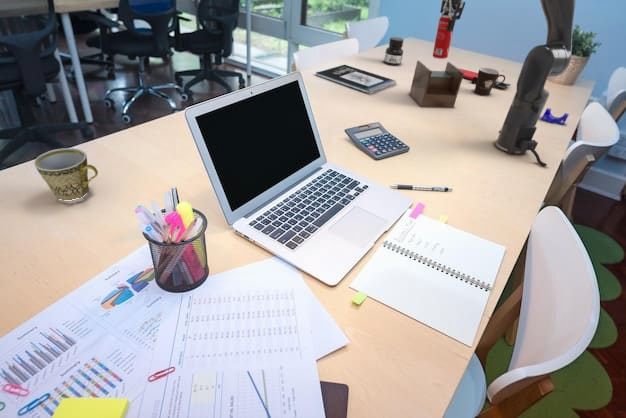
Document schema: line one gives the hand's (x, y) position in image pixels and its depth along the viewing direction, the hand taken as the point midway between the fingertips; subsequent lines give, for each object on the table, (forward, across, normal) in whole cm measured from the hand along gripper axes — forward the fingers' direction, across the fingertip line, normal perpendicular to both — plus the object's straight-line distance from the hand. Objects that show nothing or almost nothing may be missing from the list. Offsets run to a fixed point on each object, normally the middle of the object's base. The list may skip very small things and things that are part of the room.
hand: (446, 28), depth 148 cm
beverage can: (+11, 0, 0) cm, 11 cm away
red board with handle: (+28, -27, +37) cm, 53 cm away
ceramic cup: (+28, +68, -115) cm, 136 cm away
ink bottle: (+28, -49, 0) cm, 56 cm away
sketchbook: (+28, -21, -26) cm, 44 cm away
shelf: (+28, +2, +1) cm, 28 cm away
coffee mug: (+28, -8, +31) cm, 42 cm away
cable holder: (+28, +21, +45) cm, 57 cm away
